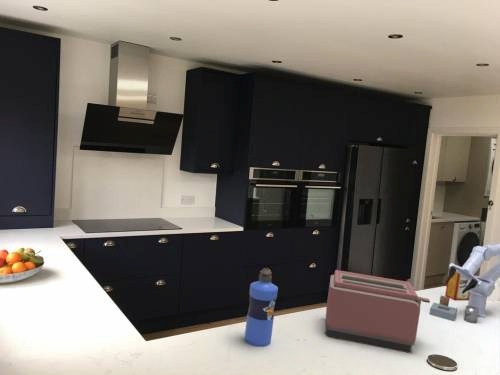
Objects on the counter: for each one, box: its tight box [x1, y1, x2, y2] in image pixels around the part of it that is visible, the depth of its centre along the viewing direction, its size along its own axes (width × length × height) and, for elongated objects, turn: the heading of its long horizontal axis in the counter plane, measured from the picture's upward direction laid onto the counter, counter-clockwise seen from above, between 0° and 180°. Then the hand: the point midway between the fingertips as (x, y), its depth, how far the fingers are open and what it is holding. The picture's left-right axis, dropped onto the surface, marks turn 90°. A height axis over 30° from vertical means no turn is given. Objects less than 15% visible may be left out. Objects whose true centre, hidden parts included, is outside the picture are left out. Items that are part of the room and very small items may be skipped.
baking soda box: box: [444, 268, 470, 301], centre depth 223 cm, size 10×6×16 cm
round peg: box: [463, 305, 479, 324], centre depth 191 cm, size 5×5×6 cm
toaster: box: [325, 269, 431, 353], centre depth 161 cm, size 19×36×21 cm, turn 78°
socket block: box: [429, 302, 458, 322], centre depth 195 cm, size 10×10×3 cm
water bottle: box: [244, 267, 279, 348], centre depth 146 cm, size 9×9×25 cm
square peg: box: [438, 295, 451, 306], centre depth 202 cm, size 4×4×6 cm
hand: (454, 287), depth 192 cm, fingers open, 7 cm apart
